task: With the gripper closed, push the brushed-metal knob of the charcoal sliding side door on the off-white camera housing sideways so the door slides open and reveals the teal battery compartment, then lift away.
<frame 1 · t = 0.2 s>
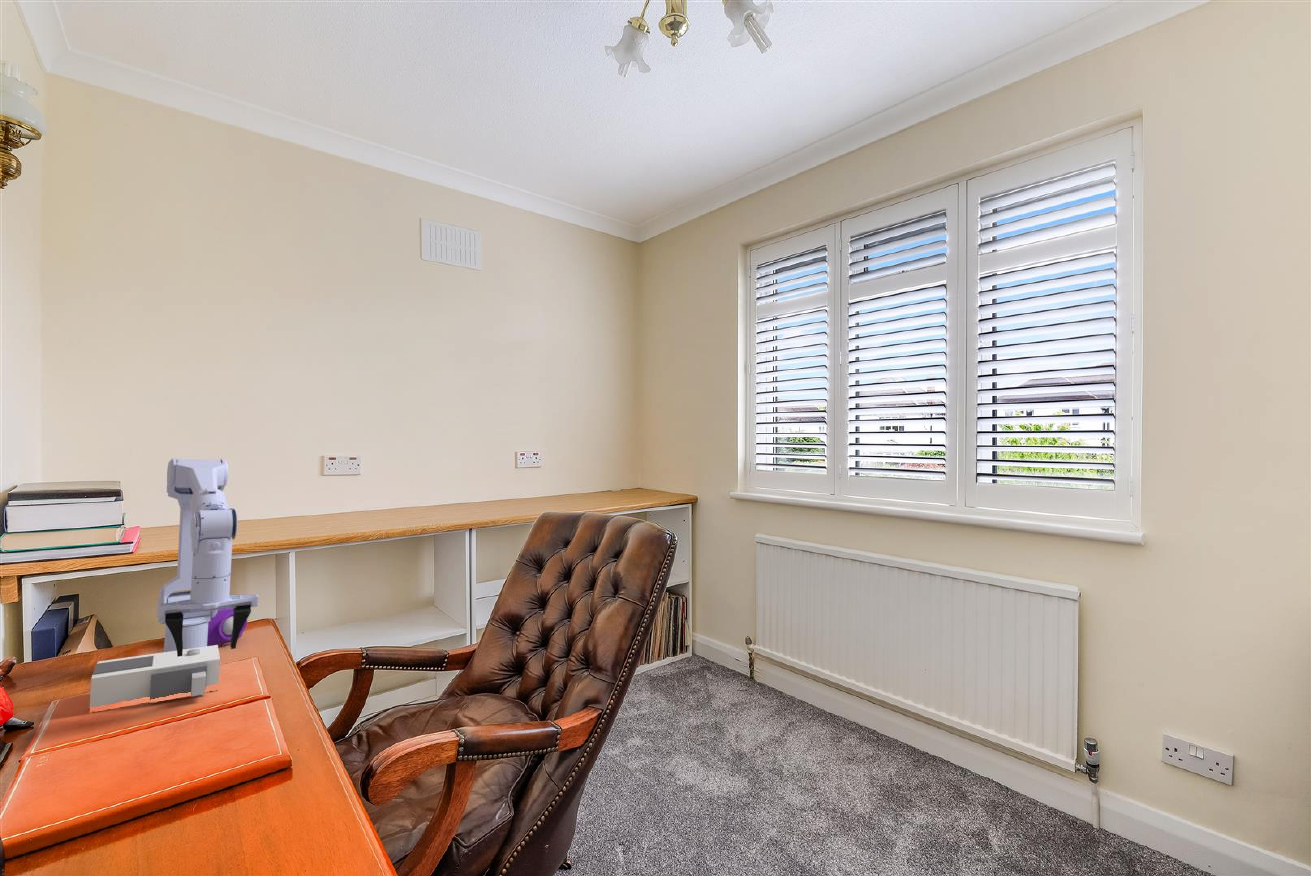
hand: (207, 650, 107), 10 cm above the table, tool pointing down, fingers open, 7 cm apart
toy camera: (216, 643, 140), on the table
camera housing: (158, 692, 112), on the table
side door: (179, 685, 108), point 3 cm above the table, slide at 0.0 cm
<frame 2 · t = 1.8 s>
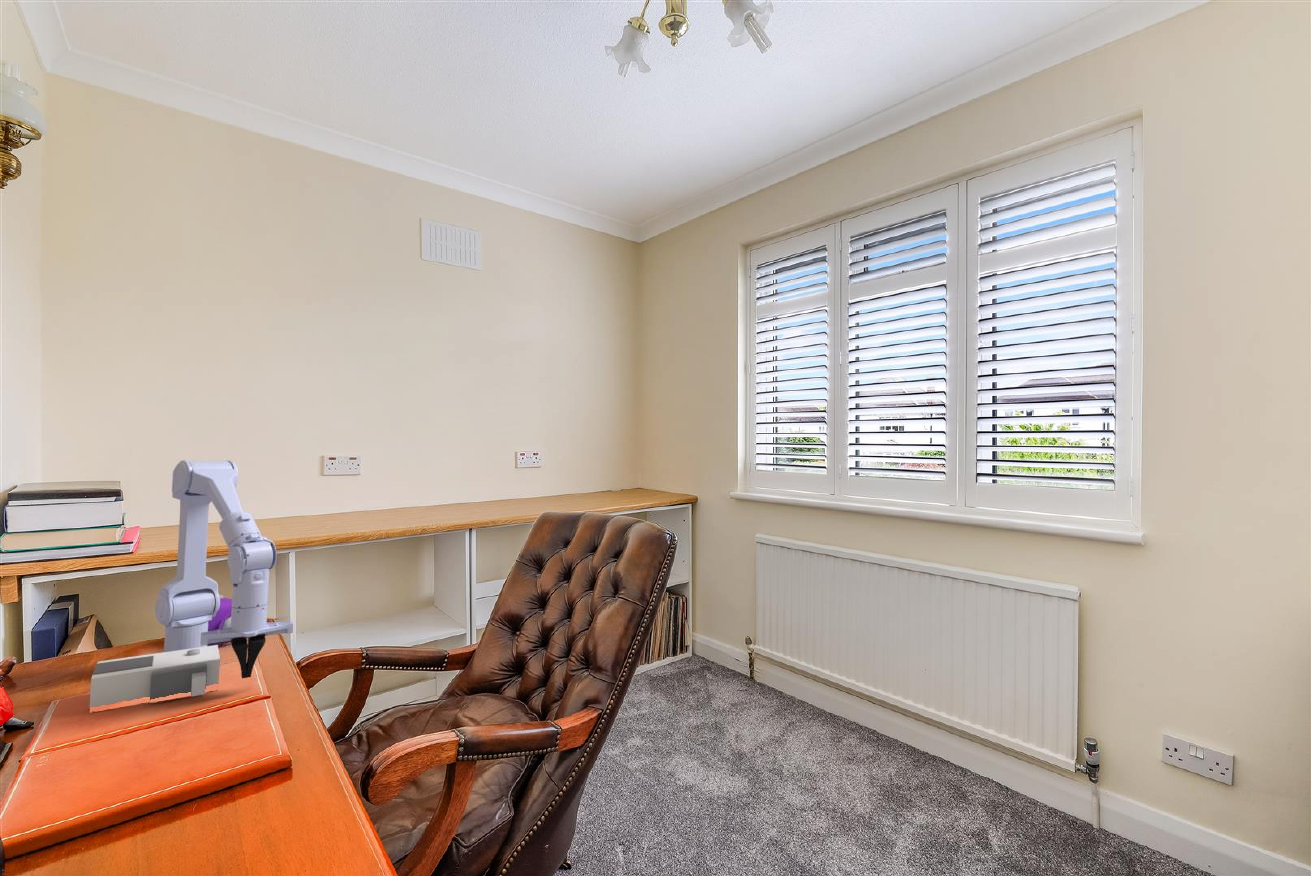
hand: (246, 676, 113), 3 cm above the table, tool pointing down, fingers closed
nothing on the table moved.
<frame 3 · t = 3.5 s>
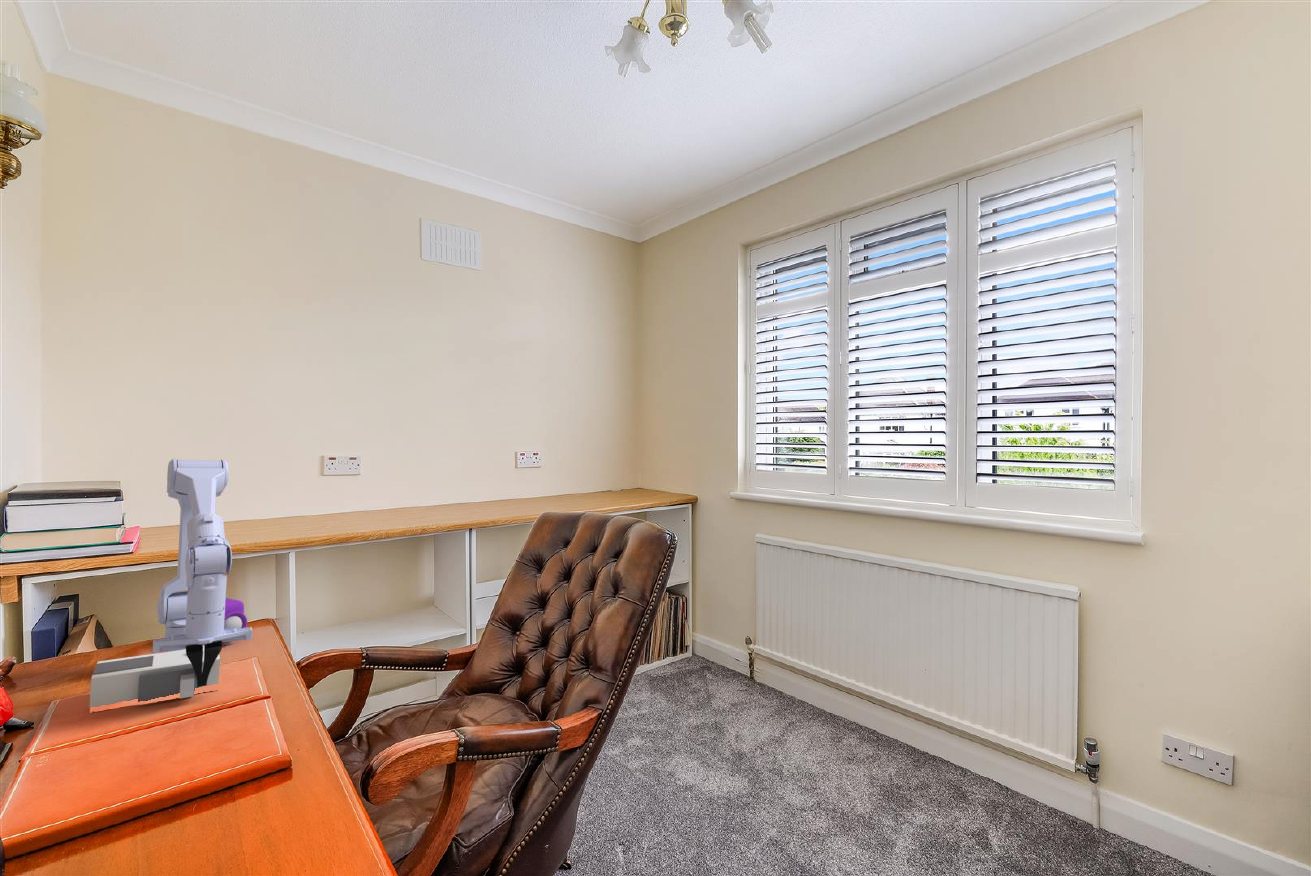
hand: (201, 684, 109), 3 cm above the table, tool pointing down, fingers closed
side door: (167, 687, 107), point 3 cm above the table, slide at 1.7 cm, touching gripper
everything else where it was.
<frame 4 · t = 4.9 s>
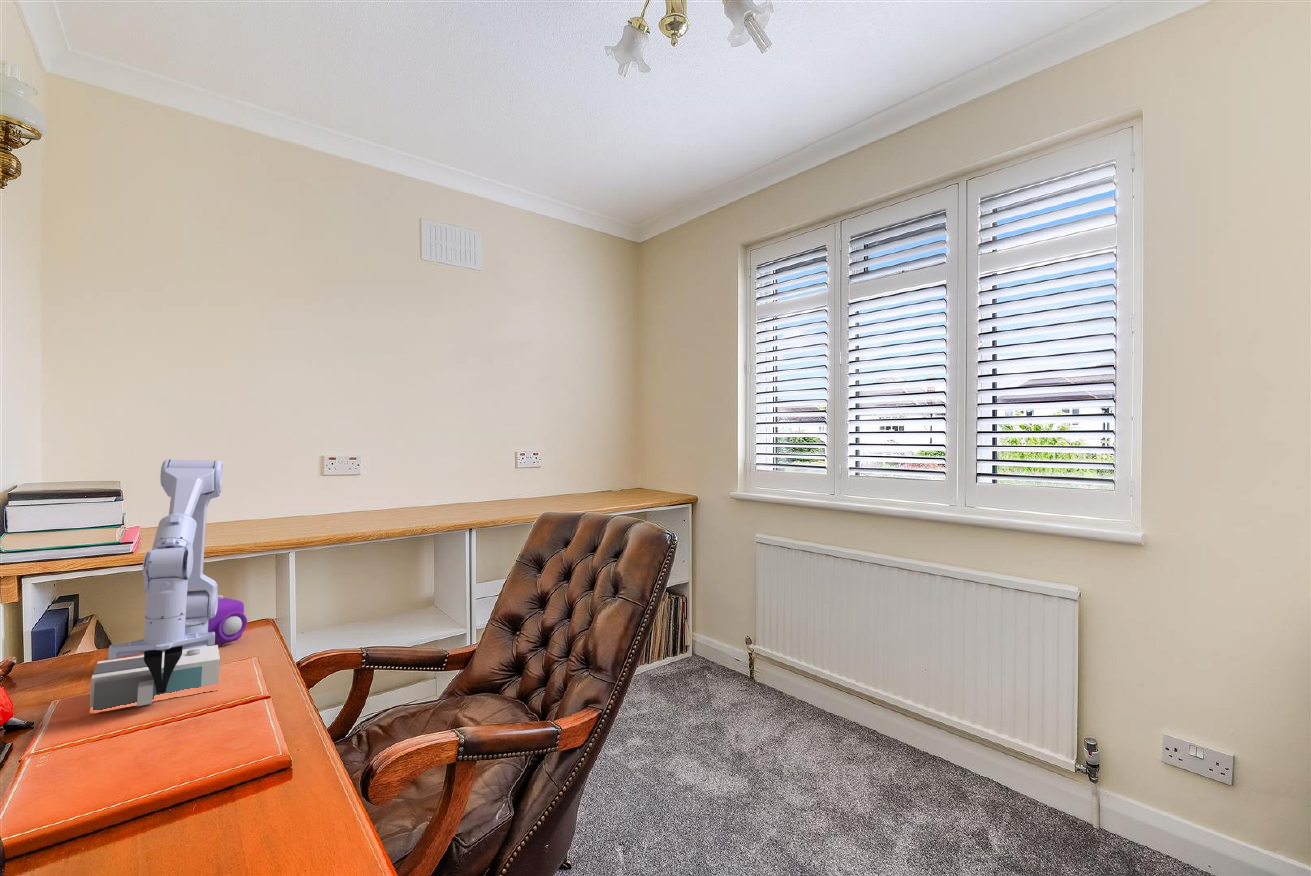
hand: (161, 691, 105), 3 cm above the table, tool pointing down, fingers closed
side door: (124, 695, 103), point 3 cm above the table, slide at 7.4 cm, touching gripper
everything else where it was.
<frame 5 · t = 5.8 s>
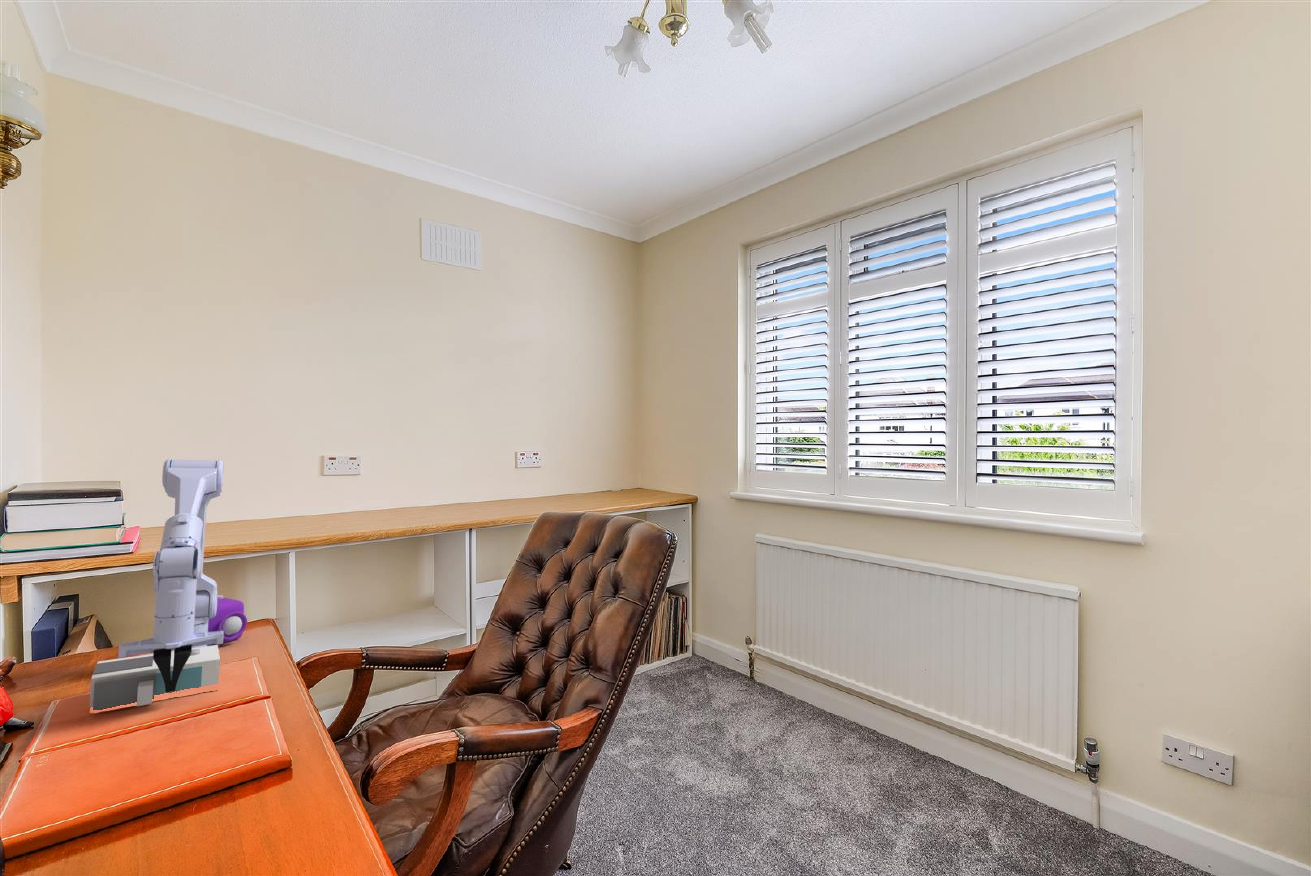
hand: (170, 689, 106), 3 cm above the table, tool pointing down, fingers closed
side door: (124, 695, 103), point 3 cm above the table, slide at 7.4 cm
everything else where it was.
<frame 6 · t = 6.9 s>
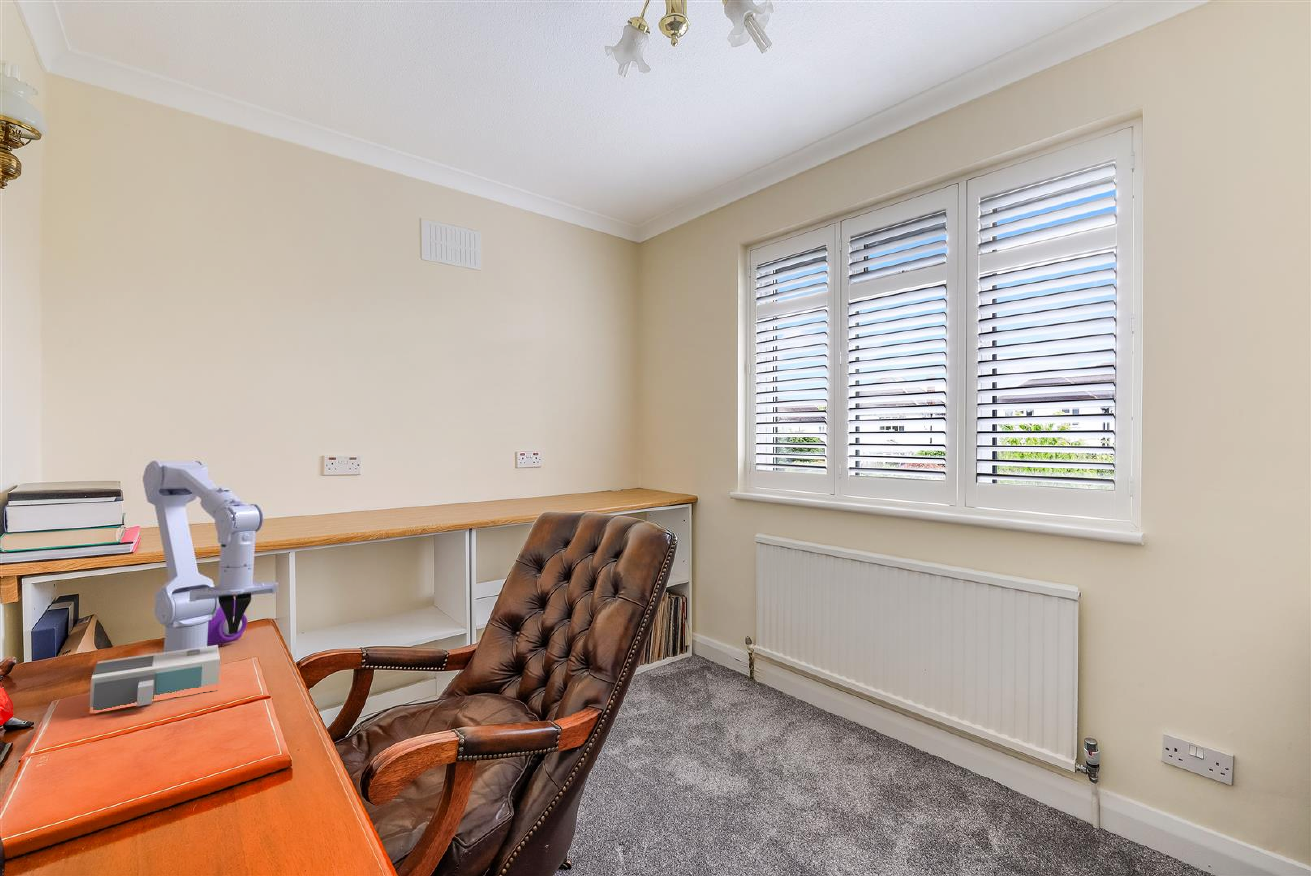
hand: (233, 632, 119), 9 cm above the table, tool pointing down, fingers closed
nothing on the table moved.
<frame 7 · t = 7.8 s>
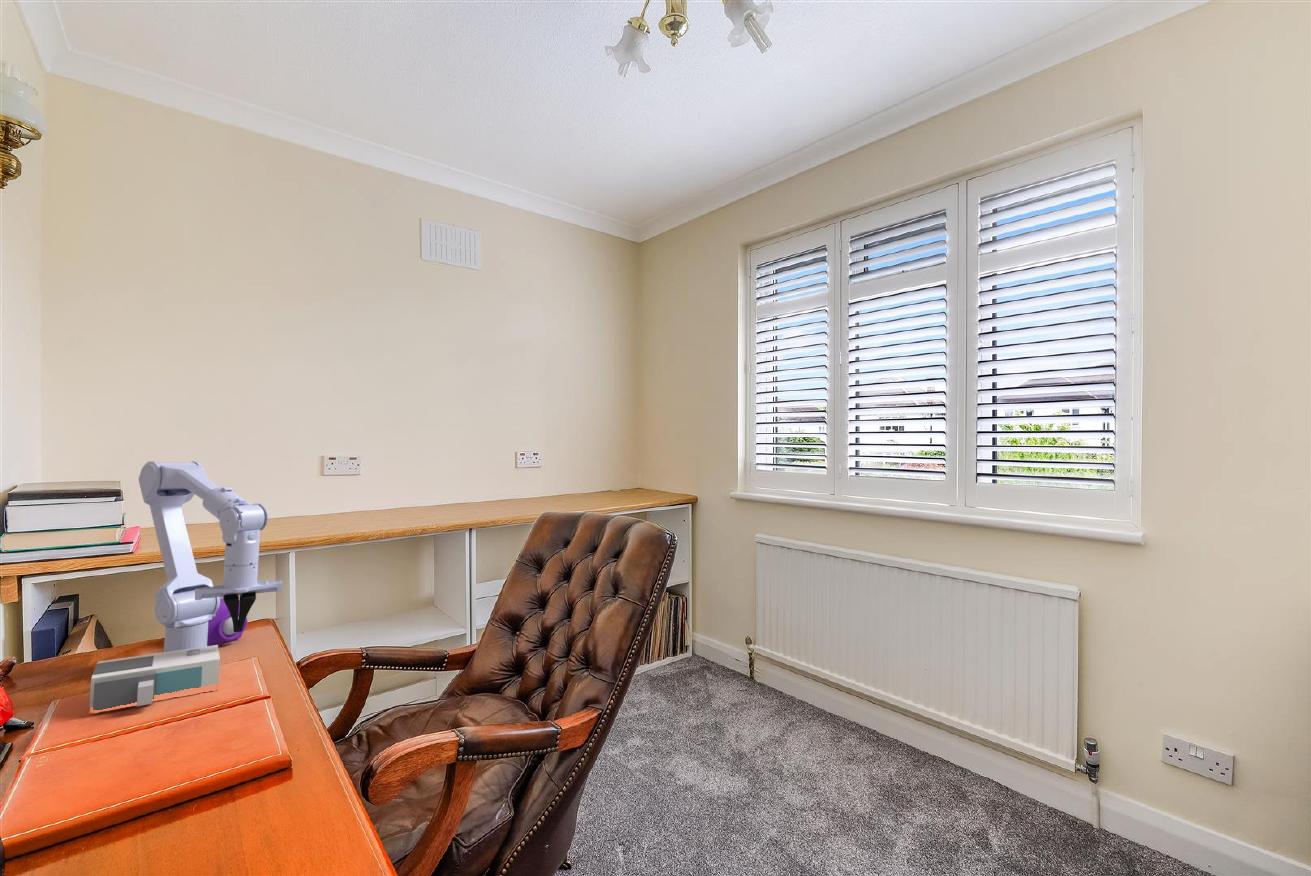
hand: (237, 630, 120), 9 cm above the table, tool pointing down, fingers closed
nothing on the table moved.
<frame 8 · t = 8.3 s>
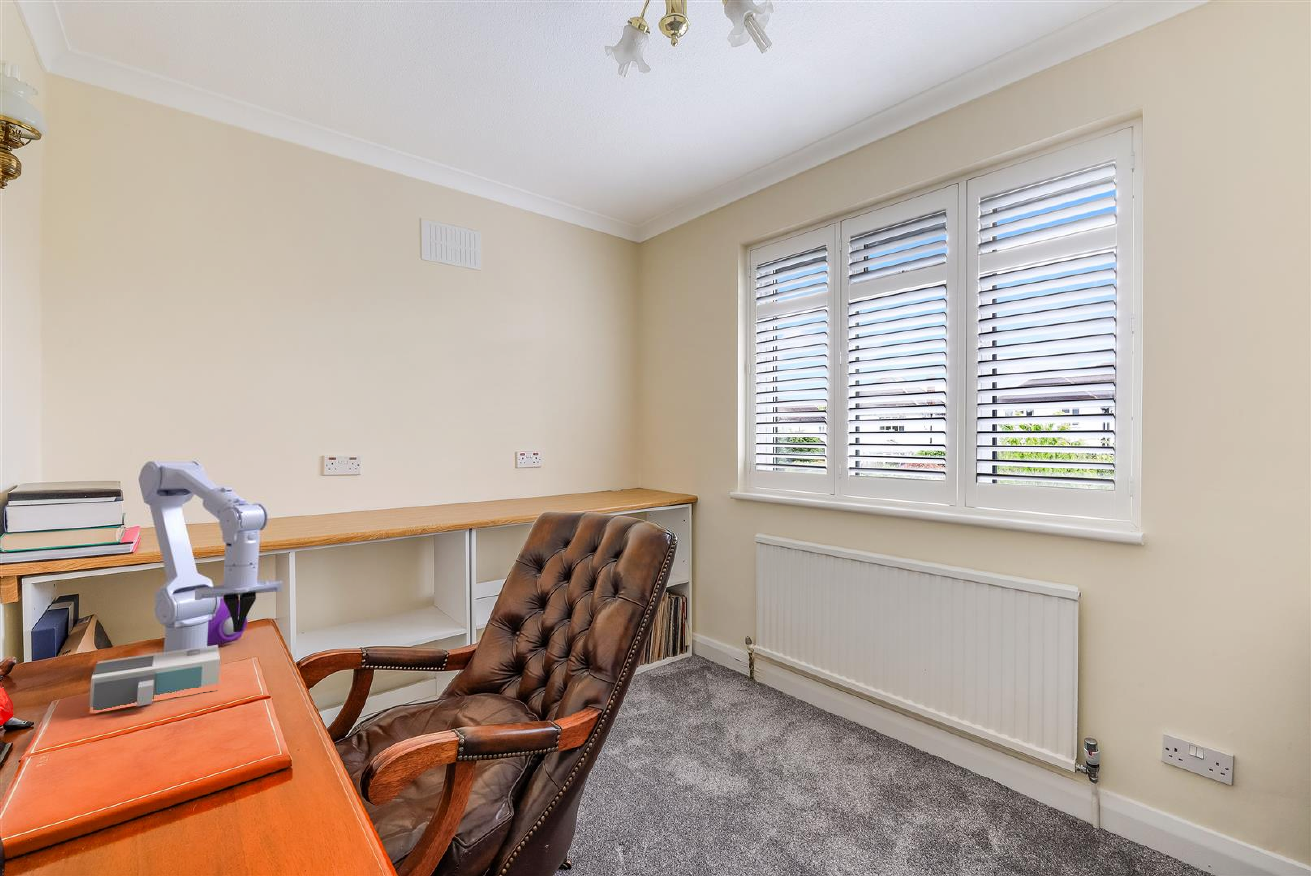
hand: (237, 630, 120), 9 cm above the table, tool pointing down, fingers closed
nothing on the table moved.
at the end: side door slide at 7.4 cm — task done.
